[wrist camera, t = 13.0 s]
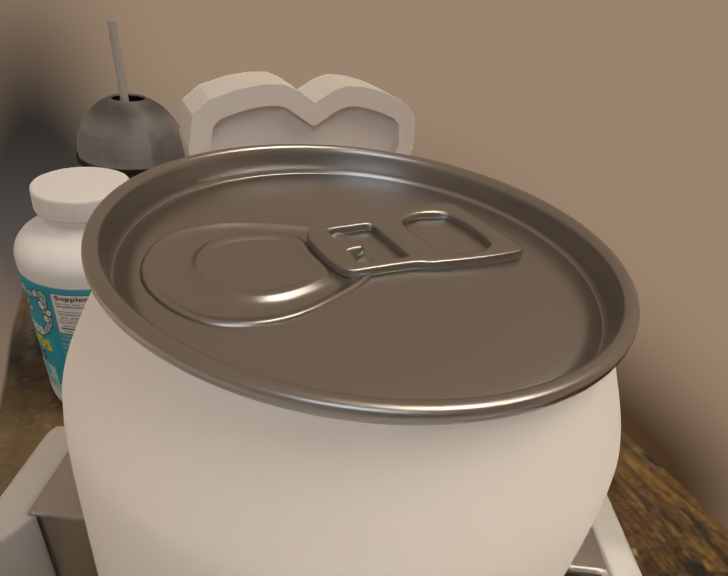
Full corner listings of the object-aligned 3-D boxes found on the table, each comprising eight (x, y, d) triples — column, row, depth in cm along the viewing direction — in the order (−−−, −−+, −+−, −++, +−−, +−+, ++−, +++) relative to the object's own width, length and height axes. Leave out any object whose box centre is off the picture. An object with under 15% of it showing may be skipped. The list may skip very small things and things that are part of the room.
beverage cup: (206, 274, 45) (192, 21, 35) (188, 322, 39) (164, 34, 29) (120, 268, 45) (79, 7, 34) (87, 317, 38) (25, 18, 28)
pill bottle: (67, 345, 36) (20, 154, 28) (180, 338, 38) (163, 158, 30) (39, 427, 30) (-29, 212, 22) (175, 413, 32) (153, 212, 24)
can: (125, 625, 13) (14, 140, 6) (355, 524, 16) (433, 130, 9) (193, 1030, 8) (34, 715, 2) (498, 774, 11) (832, 331, 5)
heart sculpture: (203, 345, 37) (186, 85, 28) (190, 306, 41) (172, 65, 31) (390, 310, 44) (429, 90, 34) (365, 280, 48) (393, 74, 38)
